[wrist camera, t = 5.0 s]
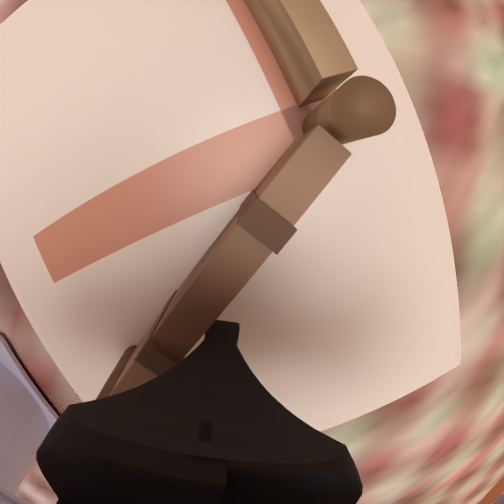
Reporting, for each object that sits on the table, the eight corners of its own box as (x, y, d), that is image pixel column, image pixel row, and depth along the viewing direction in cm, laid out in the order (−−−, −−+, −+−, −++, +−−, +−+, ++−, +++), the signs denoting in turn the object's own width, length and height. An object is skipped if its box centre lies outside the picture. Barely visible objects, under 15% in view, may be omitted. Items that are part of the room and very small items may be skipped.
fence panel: (287, 135, 10) (313, 111, 6) (323, 165, 10) (369, 162, 6) (117, 361, 12) (81, 422, 8) (148, 381, 12) (121, 447, 8)
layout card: (144, 465, 14) (143, 469, 14) (-39, 70, 8) (-42, 69, 8) (457, 360, 13) (461, 364, 12) (275, -98, 7) (275, -102, 6)
